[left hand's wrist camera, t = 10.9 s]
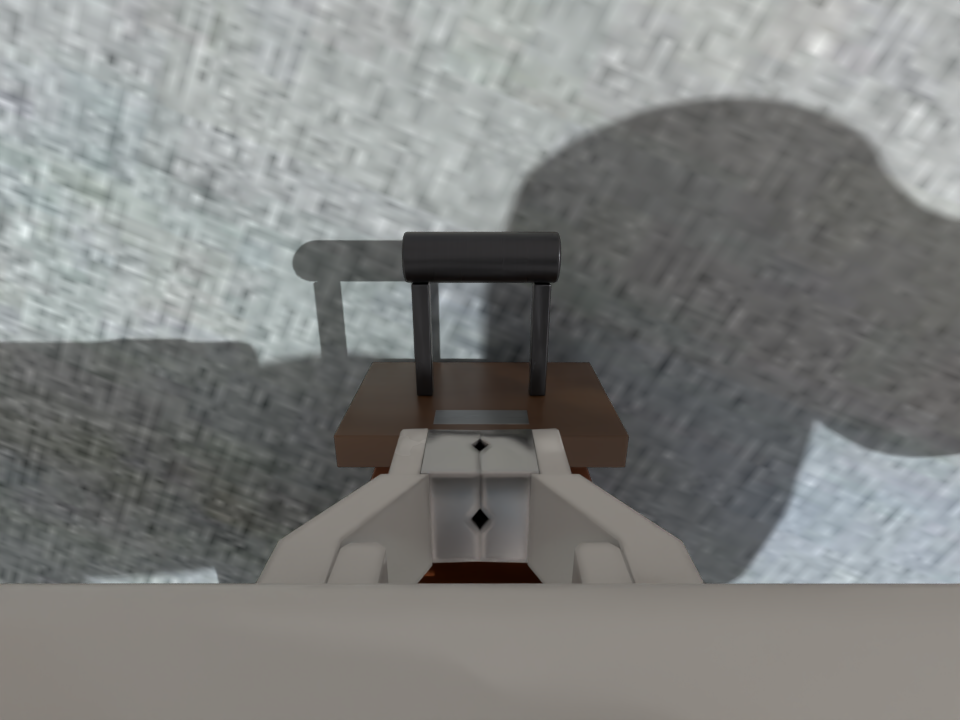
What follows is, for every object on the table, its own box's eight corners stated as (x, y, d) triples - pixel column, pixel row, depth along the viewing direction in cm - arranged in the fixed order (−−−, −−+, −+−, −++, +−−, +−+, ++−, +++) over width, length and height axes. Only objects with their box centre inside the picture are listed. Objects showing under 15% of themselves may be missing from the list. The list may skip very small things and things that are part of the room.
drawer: (361, 220, 20) (311, 247, 14) (601, 221, 20) (652, 247, 14) (396, 653, 29) (373, 783, 23) (565, 653, 29) (587, 783, 23)
